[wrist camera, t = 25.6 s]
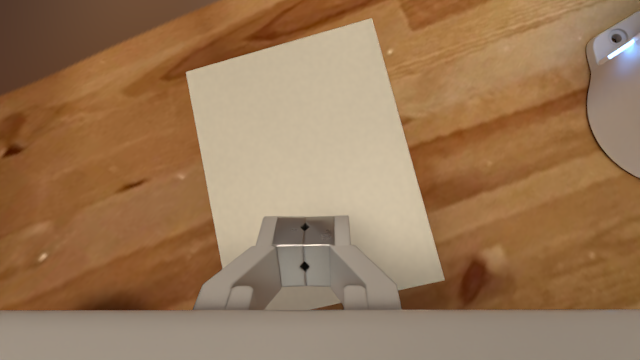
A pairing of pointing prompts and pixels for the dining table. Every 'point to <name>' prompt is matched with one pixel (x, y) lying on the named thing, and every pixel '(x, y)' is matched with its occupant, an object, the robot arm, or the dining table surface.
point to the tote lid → (313, 153)
